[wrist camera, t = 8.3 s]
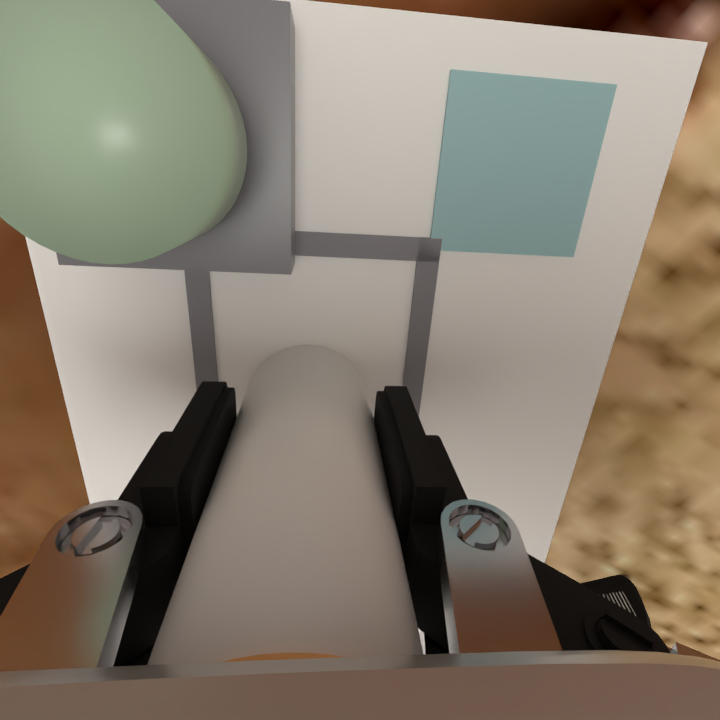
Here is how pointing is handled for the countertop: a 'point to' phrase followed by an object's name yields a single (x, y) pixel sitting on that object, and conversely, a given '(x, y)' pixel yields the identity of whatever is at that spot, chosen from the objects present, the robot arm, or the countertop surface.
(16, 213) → the button
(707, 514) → the countertop surface
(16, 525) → the countertop surface
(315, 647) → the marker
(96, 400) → the sheet
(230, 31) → the button housing
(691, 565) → the countertop surface
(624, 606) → the electric trimmer
